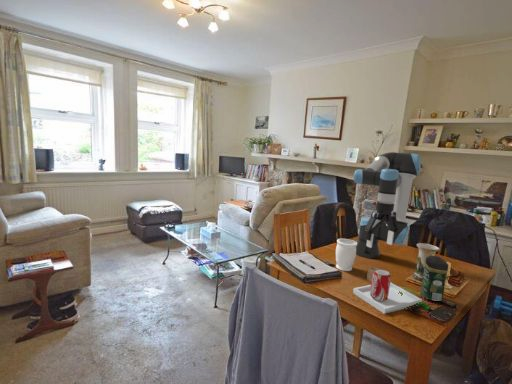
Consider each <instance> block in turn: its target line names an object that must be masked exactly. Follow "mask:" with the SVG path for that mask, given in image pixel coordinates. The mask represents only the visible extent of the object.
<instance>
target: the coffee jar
mask: <svg viewBox="0 0 512 384" xmlns="http://www.w3.org/2000/svg"><path fill="white" fill-rule="evenodd" d="M448 270H449V264H448V263H447V262H446V260H444V259H443V258H441V256H438V255H429V256H426V258H425V262H424V270H423V275H422V281H421V286H420V294H421V296H422V297H423V296H424V297H425V298H428V299H430V300H434V301H442V302H443V300H444V299H443V298H444V293H445V292H444V291H445V286H446V279H447V275H448ZM424 297H423V298H424ZM425 298H424V299H425Z"/></svg>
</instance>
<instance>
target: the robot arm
mask: <svg viewBox="0 0 512 384" xmlns="http://www.w3.org/2000/svg"><path fill="white" fill-rule="evenodd" d="M421 163H422V162H421V155H420V154H419V153H412V152H411V153H410V152H409V153H408V152H395V151H394V152H393V151H392V152H385V153H383V154H379V155H378V156H376V157H375V158H374V159H373V161H372V162H371V163H370V164H369V165H368V166H366V167H365V168H364V169H362V168H361V169H359V168H358V169H356V170H355V171H354V173H353V182H354V183H355V184H358V185H366V186H375V187H378V191H377V192H378V193H377V198H376V199H377V201H376V205H375V210H376V212H374V211H372V212H371V215H370V216H365V217H362V218H361V220H360V224H359V231H358V233H359V234H358V238H357V241H356V242H357V246H356V256H357V255H358V256H359V257H361V258H362V257H363V258H367V259H378V258H379V257H380V255H381V252H380V247H379V241H381V242H386V244H387V245H389V246H393V244H394V245H400V246H402V245H404V244H405V243H406V241H407V240H408V236H409V233H410V226H409V225H408V221H407V219H406V218H407V213H408V207H409V203H410V197H411V191H412V186H413V181H414V179H416V178H417V176H418V175H420V173H421V168H422V167H421V165H422V164H421Z"/></svg>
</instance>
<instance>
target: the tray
mask: <svg viewBox="0 0 512 384" xmlns="http://www.w3.org/2000/svg"><path fill="white" fill-rule="evenodd" d="M370 291H371V284H368V285H364V286H357V287H353V290H352V293H353V294H354V295H356V296H357V297H359V298H360V299H361V300H363V301H365V302H366V303H368V304H369V305H370V306H372V307H373V308H375V309H376V310H377V311H379V312H381V313H382V314H383V315H387V314H389V313H393V312H396V311H401V310H405V309H407V308H406V307H409V306H412V305H414V304H416V303H418V302H423V299H422V298H420V297H418V296H416V295H415V294H413V293H412V292H409V291H408V290H405V289H403V288H401V286H398V285H397V284H394V283H392V282H391V281H390V287H389V294H388V298H387V300H386V301H377V300H375V299H373V298H372V297H371V295H370ZM399 291H400V292H402V293H403V295H402V296H401V294H400V293H399ZM398 293H399V294H398ZM404 308H405V309H404ZM409 308H410V307H409Z"/></svg>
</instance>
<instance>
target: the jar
mask: <svg viewBox="0 0 512 384" xmlns="http://www.w3.org/2000/svg"><path fill="white" fill-rule="evenodd" d="M336 243H337V244H336V247H335V261H336V264H335V267H336V268H337V269H338V270H339V271H342V272H350V271H352V270H353V268H352V267H353V265H354V263H355V260H356V256H357V254H356V246H357V241H355V240H353V239H350V238H337V240H336Z"/></svg>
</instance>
